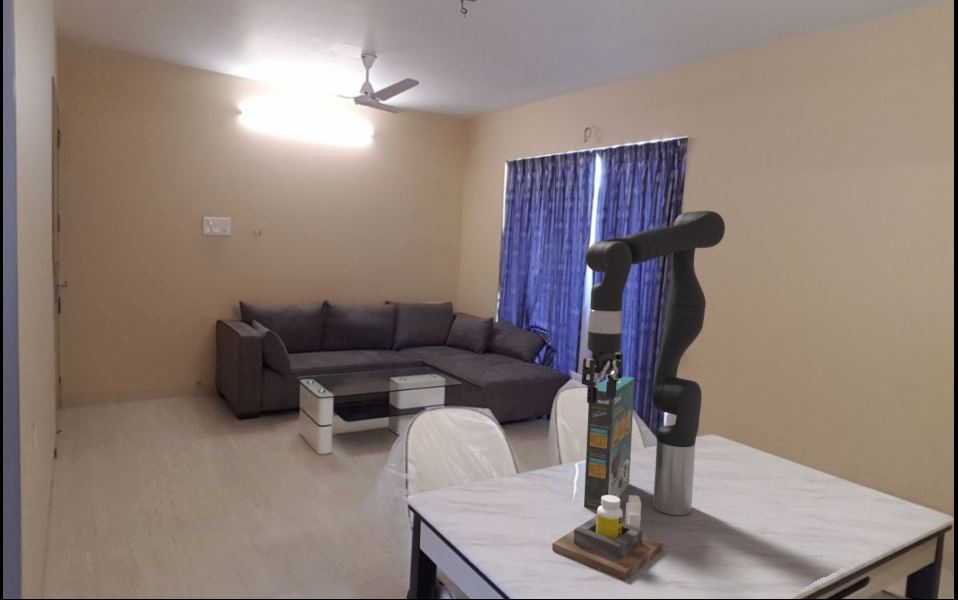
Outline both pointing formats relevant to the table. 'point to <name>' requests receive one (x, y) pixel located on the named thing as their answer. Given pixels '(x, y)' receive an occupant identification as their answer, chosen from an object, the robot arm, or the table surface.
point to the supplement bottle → (609, 517)
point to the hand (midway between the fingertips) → (601, 400)
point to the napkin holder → (633, 511)
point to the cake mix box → (609, 443)
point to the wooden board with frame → (609, 549)
